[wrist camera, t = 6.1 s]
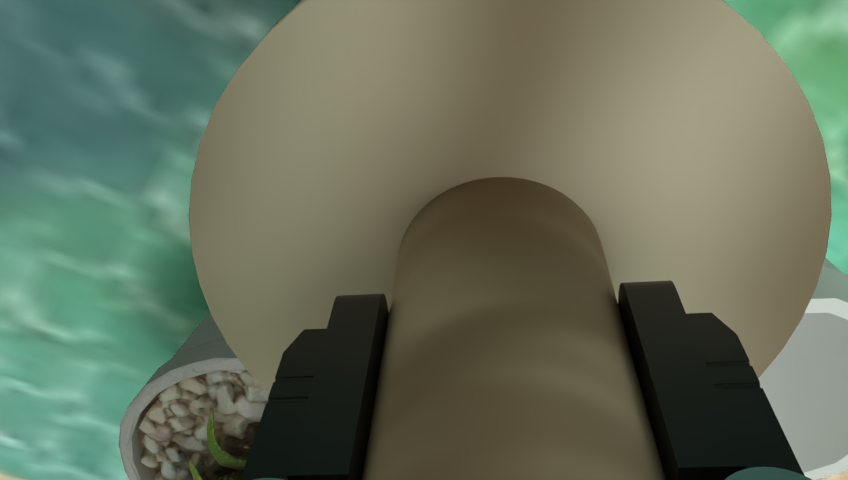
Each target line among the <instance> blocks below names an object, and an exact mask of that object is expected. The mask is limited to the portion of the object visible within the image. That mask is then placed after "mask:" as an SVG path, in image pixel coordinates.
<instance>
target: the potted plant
mask: <svg viewBox="0 0 848 480" xmlns="http://www.w3.org/2000/svg"><path fill="white" fill-rule="evenodd" d="M268 396H269V393H268V392H267V391H266V390H265V389H264V388H263V387H262V386H261V385H260V384H259V383H258V382H257V381H256V379H255V378H254V377H253V376H252V375H251V374H250V373H249V372H248V371H247V370H246V368H245V367H244V366H243V364H242V363H241V362H240V360H239V359H238V358H237V356H236V355H235V354H234V352H233V351H232V349H231V348H230V347H229V345H228V344H227V342H226V340H225V339H224V337H223V335H222V333H221V331H220V330H219V328H218V326H217V324H216V322H215V321H214V319H213V317H212V315H211V313H209V314H208V315H207V316H206V318H205V319H204V320H203V321H202V322H201V324H200V325H199V326H198V327H197V329H196V330H195V331H194V332H193V333H192V335H191V336H190V337H189V338H188V339H187V341H186V342H185V343H184V344H183V346H182V347H181V348H180V349H179V350H178V352H177V353H176V354H175V355H174V356H173V358H172V359H171V360H170V361H168V362H167V363H165V364H164V365H163V366H161V367H160V368H158V370H157V371H156V372H155V373H154V375H153V376H152V377H151V378H150V380H149V381H148V382H147V383H146V385H145V386H144V387H143V388H142V390H141V391H140V392H139V393H138V395H137V396H136V397H135V398H134V400H133V401H132V402H131V403H130V405H129V406H128V407H127V410H126V412H125V415H124V417H123V420H122V422H121V425H120V436H119V448H120V452H121V456H122V460H123V464H124V468H125V472H126V473H127V475H128V477H129V479H130V480H240V479H241V476H242V473H243V470H244V467H245V464H246V461H247V458H248V456H249V453H250V450H251V447H252V444H253V441H254V438H255V435H256V432H257V429H258V426H259V423H260V420H261V417H262V414H263V411H264V408H265V405H266V403H268Z"/></svg>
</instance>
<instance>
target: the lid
mask: <svg viewBox="0 0 848 480" xmlns="http://www.w3.org/2000/svg"><path fill="white" fill-rule="evenodd" d="M830 222H831V186H830V174H829V169H828V164H827V159H826V154H825V149H824V144H823V139H822V136H821V134H820V131H819V128H818V126H817V123H816V120H815V118H814V115H813V113H812V110H811V107H810V105H809V102H808V100H807V98H806V97H805V95H804V93H803V92H802V90H801V88H800V87H799V85H798V83H797V81H796V80H795V78H794V76H793V75H792V73H791V71H790V70H789V68H788V66H787V65H786V63H785V62H784V61H783V60H782V59H781V57H780V56H779V55H778V54H777V53H776V51H775V50H774V49H773V48H772V47H771V46H770V44H769V43H768V42H767V41H766V40H765V38H764V37H763V36H762V35H761V34H760V32H759V31H758V30H757V29H756V28H754V27H753V26H752V25H751V24H750V23H749V22H747V21H746V20H745V19H744V18H743V17H742V16H741V15H739V14H738V13H737V12H736V11H735V10H734V9H732V8H731V7H730V6H729V5H728V4H727V3H725V2H724V1H723V0H301V1H300V2H299V3H297V4H296V5H295V6H294V7H293V8H292V9H291V10H290V11H289V12H287V13H286V14H285V15H284V16H283V17H282V18H281V19H280V20H279V21H278V22H277V23H276V24H275V25H274V26H273V28H272V29H271V30H270V31H269V32H268V34H267V35H266V36H265V37H264V38H263V40H262V41H261V42H260V43H259V44H258V46H257V47H256V48H255V49H254V50H253V52H252V53H251V54H250V55H249V56H248V58H247V59H246V60H245V61H244V63H243V64H242V65H241V66H240V67H239V69H238V70H237V71H236V72H235V74H234V76H233V77H232V79H231V81H230V82H229V84H228V86H227V87H226V89H225V91H224V92H223V94H222V96H221V97H220V99H219V101H218V102H217V104H216V106H215V107H214V110H213V112H212V115H211V117H210V120H209V122H208V125H207V127H206V130H205V132H204V135H203V137H202V140H201V142H200V145H199V150H198V154H197V158H196V162H195V167H194V171H193V175H192V180H191V193H190V207H189V224H190V237H191V249H192V254H193V259H194V263H195V267H196V272H197V276H198V280H199V284H200V287H201V289H202V292H203V295H204V297H205V300H206V302H207V305H208V307H209V310H210V313H211V315H212V317H213V319H214V321H215V322H216V324H217V326H218V328H219V330H220V331H221V333H222V335H223V337H224V339H225V340H226V342H227V344H228V345H229V347H230V348H231V349H232V351H233V352H234V354H235V355H236V356H237V358H238V359H239V360H240V362H241V363H242V364H243V366H244V367H245V368H246V370H247V371H248V372H249V373H250V374H251V375H252V376H253V377H254V378H255V379H256V381H257V382H258V383H259V384H260V385H261V386H262V387H263V388H264V389H265V390H266V391H267V392H268V393H270V390H271V387H272V385H273V382H275V376H276V373H277V370H278V367H279V364H280V361H281V358H282V355H283V352H284V351H285V350H286V349H287V348H288V346H289V345H290V344H291V343H292V342H293V341H294V340H295V339H296V338H297V337H298V336H299V334H300V333H301V332H302V331H303V330H304V329H326V328H327V326H328V322H329V319H330V315H331V311H332V308H333V304H334V301H335V298H336V297H337V296H342V295H363V294H384V295H385V297H386V300H387V305H388V311H389V315H388V321H387V328H386V334H385V340H384V346H383V352H382V358H381V364H380V370H379V377H378V383H377V389H376V395H375V401H374V407H373V413H372V419H371V426H370V432H369V438H368V444H367V450H366V456H365V462H364V468H363V475H362V480H666V476H665V473H664V469H663V466H662V462H661V458H660V455H659V451H658V447H657V444H656V440H655V437H654V433H653V429H652V426H651V422H650V418H649V415H648V411H647V408H646V404H645V400H644V397H643V393H642V389H641V386H640V382H639V379H638V375H637V371H636V368H635V364H634V360H633V357H632V353H631V349H630V346H629V342H628V339H627V335H626V331H625V328H624V324H623V320H622V317H621V313H620V310H619V306H618V292H619V286H620V284H621V283H627V282H648V281H669V280H671V281H672V282H673V283H674V285H675V287H676V290H677V292H678V295H679V297H680V300H681V302H682V305H683V307H684V310H685V312H686V314H688V313H713V314H714V315H715V316H716V317H717V318H719V319H720V320H721V321H722V322H723V323H724V324H726V325H727V326H728V327H729V328H730V329H731V330H733V331H734V332H735V333H736V334H737V335H738V337H739V339H740V342H741V344H742V346H743V348H744V350H745V352H746V354H747V356H748V358H749V360H750V361H749V363H750V366H752V367H753V369H754V371H755V373H756V375H757V377H758V378H759V377H760V376H761V375H762V374H763V372H764V371H765V370H766V369H767V368H768V366H769V365H770V364H771V363H772V362H773V360H774V359H775V358H776V357H777V356H778V354H779V353H780V352H781V351H782V349H783V348H784V346H785V345H786V343H787V342H788V340H789V338H790V337H791V335H792V334H793V332H794V331H795V329H796V327H797V326H798V324H799V323H800V321H801V319H802V317H803V315H804V313H805V311H806V309H807V306H808V304H809V302H810V300H811V298H812V296H813V293H814V291H815V289H816V287H817V283H818V280H819V276H820V273H821V269H822V266H823V263H824V259H825V256H826V252H827V245H828V237H829V230H830Z"/></svg>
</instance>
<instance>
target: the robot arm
mask: <svg viewBox="0 0 848 480" xmlns="http://www.w3.org/2000/svg"><path fill="white" fill-rule="evenodd" d="M618 306H619V310H620V313H621V317H622V320H623V324H624V328H625V331H626V335H627V339H628V342H629V346H630V349H631V353H632V357H633V360H634V364H635V368H636V371H637V375H638V379H639V382H640V386H641V389H642V393H643V397H644V400H645V404H646V408H647V411H648V415H649V418H650V422H651V426H652V429H653V433H654V437H655V440H656V444H657V447H658V451H659V455H660V458H661V462H662V466H663V469H664V473H665V476H666V480H812V479H810V478H808V477H806V476H805V475H804V473H803V471H802V469H801V467H800V465H799V463H798V461H797V459H796V457H795V455H794V453H793V451H792V448H791V446H790V444H789V442H788V440H787V438H786V436H785V434H784V432H783V430H782V428H781V425H780V423H779V421H778V419H777V417H776V415H775V413H774V411H773V409H772V407H771V404H770V402H769V400H768V398H767V396H766V394H765V392H764V390H763V388H760V381H759V379H758V377H757V375H756V373H755V371H754V369H753V367H752V366H750V363H749V361H750V360H749V358H748V356H747V354H746V352H745V350H744V348H743V346H742V344H741V342H740V339H739V337H738V335H737V334H736V333H735V332H734V331H733V330H731V329H730V328H729V327H728V326H727V325H726V324H724V323H723V322H722V321H721V320H720V319H719V318H717V317H716V316H715V315H714V314H713V313H688V314H686V312H685V310H684V307H683V305H682V302H681V300H680V297H679V295H678V292H677V290H676V287H675V285H674V283H673V282H672V281H671V280H669V281H648V282H627V283H621V284H620V286H619V292H618ZM388 315H389V311H388V305H387V300H386V297H385V295H384V294H363V295H342V296H337V297H336V298H335V301H334V304H333V308H332V311H331V315H330V319H329V322H328V326H327V328H326V329H304V330H303V331H302V332H301V333H300V334H299V336H298V337H297V338H296V339H295V340H294V341H293V342H292V343H291V344H290V345H289V346H288V348H287V349H286V350H285V351H284V352H283V355H282V358H281V361H280V364H279V367H278V370H277V373H276V376H275V382H273V385H272V387H271V390H270V393H269V396H268V403H266V405H265V408H264V411H263V414H262V417H261V420H260V423H259V426H258V429H257V432H256V435H255V438H254V441H253V444H252V447H251V450H250V453H249V456H248V458H247V461H246V464H245V467H244V470H243V473H242V476H241V479H240V480H362V475H363V468H364V462H365V456H366V450H367V444H368V438H369V432H370V426H371V419H372V413H373V407H374V401H375V395H376V389H377V383H378V377H379V370H380V364H381V358H382V352H383V346H384V340H385V334H386V328H387V321H388Z"/></svg>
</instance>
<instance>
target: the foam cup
mask: <svg viewBox="0 0 848 480" xmlns="http://www.w3.org/2000/svg"><path fill="white" fill-rule="evenodd" d="M758 379H759V381H760V388H763V390H764V392H765V394H766V396H767V398H768V400H769V402H770V404H771V407H772V409H773V411H774V413H775V415H776V417H777V419H778V421H779V423H780V425H781V428H782V430H783V432H784V434H785V436H786V438H787V440H788V442H789V444H790V446H791V448H792V451H793V453H794V455H795V457H796V459H797V461H798V463H799V465H800V467H801V469H802V471H803V473H804V475H805V476H806V477H808V478H810V479H812V480H817V479H820V478H823V477H827V476H830V475H833V474H837V473H840V472H843V471H844V470H846V469H847V468H848V275H846V274H843V273H842V272H841V271H840V270H839V269H838V268H837V267H835V266H834V265H833V264H832V263H831V262H830V261H829V260H828V259H826V258H825V259H824V263H823V266H822V269H821V273H820V276H819V280H818V283H817V287H816V289H815V291H814V293H813V296H812V298H811V300H810V302H809V304H808V306H807V309H806V311H805V313H804V315H803V317H802V319H801V321H800V323H799V324H798V326H797V327H796V329H795V331H794V332H793V334H792V335H791V337H790V338H789V340H788V342H787V343H786V345H785V346H784V348H783V349H782V351H781V352H780V353H779V354H778V356H777V357H776V358H775V359H774V360H773V362H772V363H771V364H770V365H769V366H768V368H767V369H766V370H765V371H764V372H763V374H762V375H761V376H760V377H759V378H758Z"/></svg>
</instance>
